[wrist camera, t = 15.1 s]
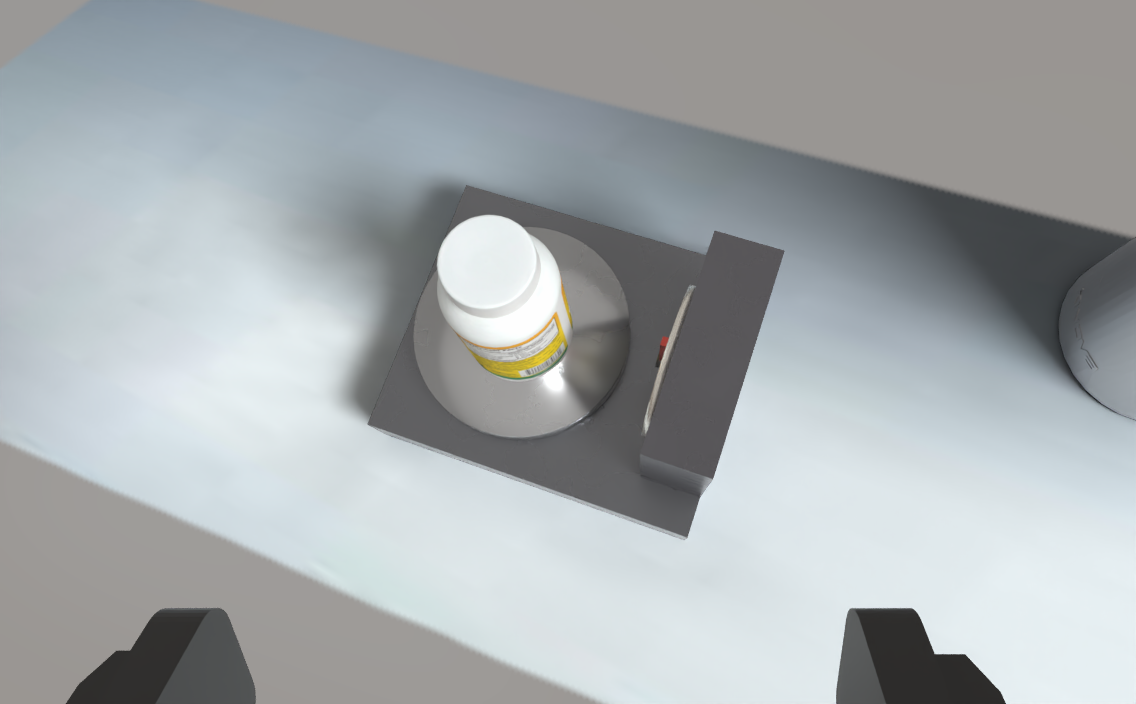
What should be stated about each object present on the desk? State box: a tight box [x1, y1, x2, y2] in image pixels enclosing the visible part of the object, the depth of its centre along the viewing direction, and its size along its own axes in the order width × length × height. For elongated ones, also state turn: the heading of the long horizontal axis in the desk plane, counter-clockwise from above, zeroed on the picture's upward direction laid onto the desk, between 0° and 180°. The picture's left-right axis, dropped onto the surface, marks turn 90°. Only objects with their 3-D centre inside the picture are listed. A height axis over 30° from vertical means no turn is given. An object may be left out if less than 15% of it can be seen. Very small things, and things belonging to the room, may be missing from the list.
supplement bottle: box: [437, 215, 573, 381], centre depth 37 cm, size 5×5×10 cm
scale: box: [368, 185, 784, 540], centre depth 40 cm, size 17×14×11 cm
